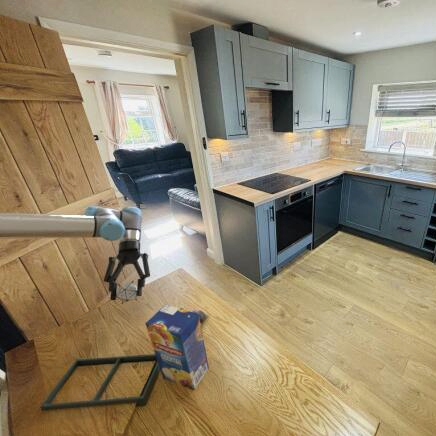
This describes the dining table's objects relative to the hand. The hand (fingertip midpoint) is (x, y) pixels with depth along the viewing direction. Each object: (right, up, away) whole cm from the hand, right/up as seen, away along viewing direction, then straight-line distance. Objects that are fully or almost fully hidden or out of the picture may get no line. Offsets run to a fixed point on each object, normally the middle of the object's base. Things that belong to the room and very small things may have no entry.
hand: (126, 297), depth 93 cm
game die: (-1, -2, +4) cm, 5 cm away
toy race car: (+22, -11, +2) cm, 25 cm away
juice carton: (+30, -19, -15) cm, 39 cm away
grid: (+9, -21, -19) cm, 29 cm away
